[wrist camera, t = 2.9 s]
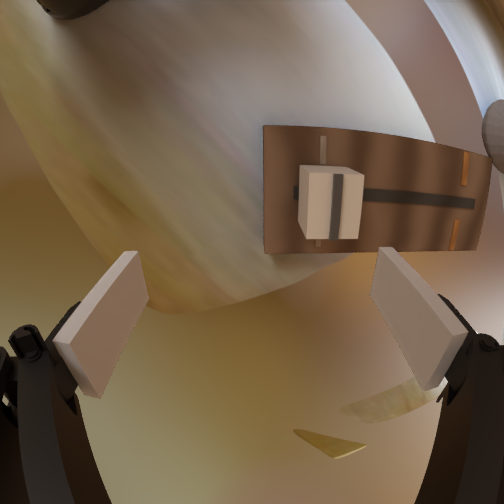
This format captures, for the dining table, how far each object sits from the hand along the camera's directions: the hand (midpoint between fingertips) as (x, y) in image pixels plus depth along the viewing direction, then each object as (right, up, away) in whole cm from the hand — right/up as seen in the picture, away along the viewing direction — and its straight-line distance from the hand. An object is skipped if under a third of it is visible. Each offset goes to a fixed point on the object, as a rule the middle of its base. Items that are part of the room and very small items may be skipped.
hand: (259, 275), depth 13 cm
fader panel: (+17, +9, +18) cm, 26 cm away
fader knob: (+7, +7, +15) cm, 18 cm away
